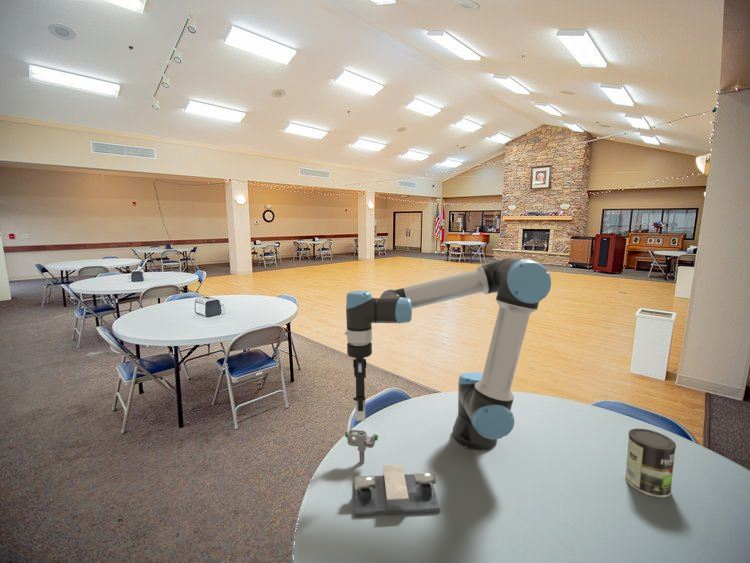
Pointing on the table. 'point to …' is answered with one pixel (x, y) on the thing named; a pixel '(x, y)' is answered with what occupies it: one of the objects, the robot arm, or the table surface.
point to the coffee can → (650, 462)
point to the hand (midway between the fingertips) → (360, 408)
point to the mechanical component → (360, 441)
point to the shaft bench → (395, 493)
